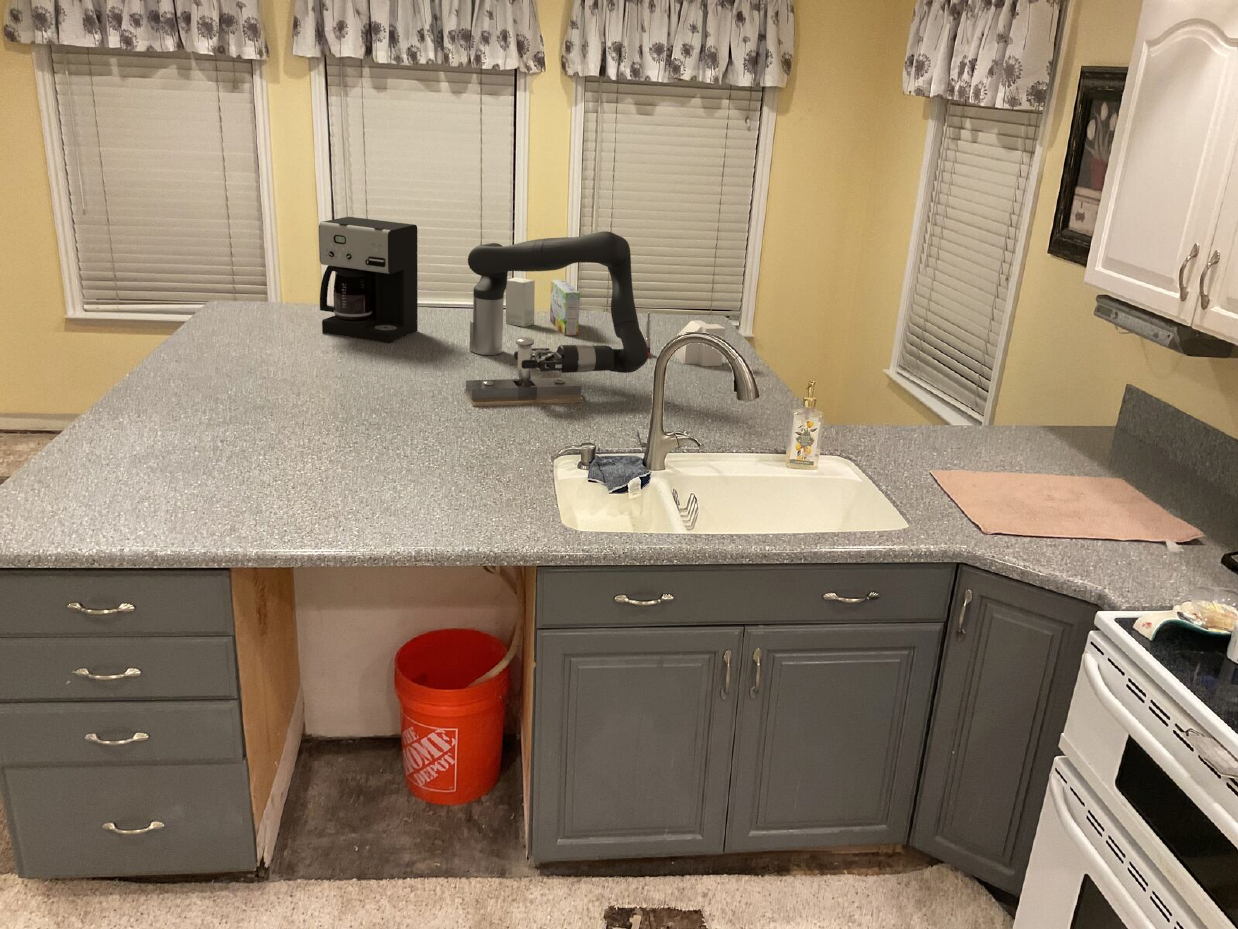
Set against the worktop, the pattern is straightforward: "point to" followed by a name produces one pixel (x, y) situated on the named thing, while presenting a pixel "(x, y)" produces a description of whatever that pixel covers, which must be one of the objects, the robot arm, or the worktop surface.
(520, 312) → the skincare box
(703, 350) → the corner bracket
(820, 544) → the worktop surface
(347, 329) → the coffee maker
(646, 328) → the tow hook
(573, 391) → the pin socket base plate
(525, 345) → the steel pin
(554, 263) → the robot arm
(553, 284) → the snack box
